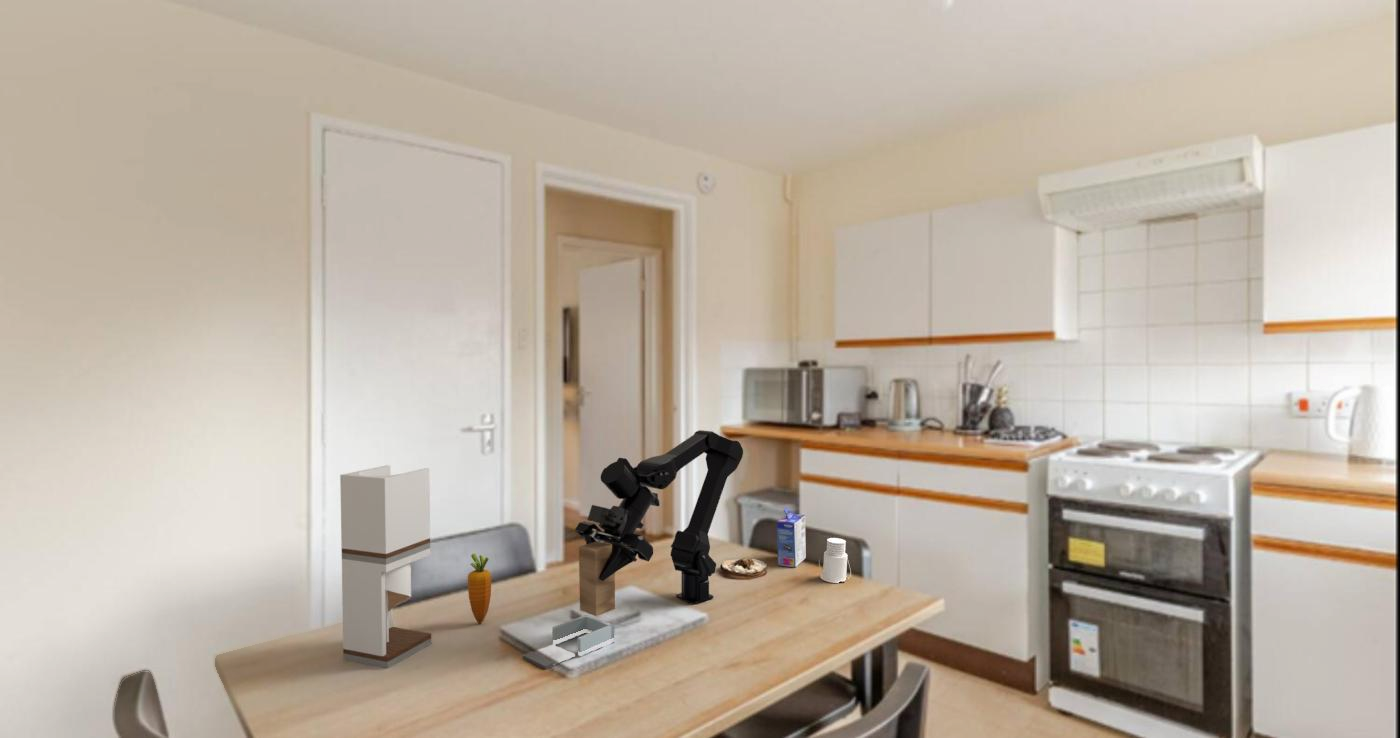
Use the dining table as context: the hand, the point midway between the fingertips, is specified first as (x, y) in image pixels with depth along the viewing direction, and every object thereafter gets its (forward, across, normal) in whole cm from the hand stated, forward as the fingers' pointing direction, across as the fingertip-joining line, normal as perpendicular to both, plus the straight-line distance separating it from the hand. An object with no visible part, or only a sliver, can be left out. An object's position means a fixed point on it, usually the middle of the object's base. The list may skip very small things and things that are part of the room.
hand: (591, 576), depth 141 cm
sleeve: (+13, 0, +5) cm, 14 cm away
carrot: (+16, -25, +2) cm, 30 cm away
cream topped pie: (-28, -3, +48) cm, 56 cm away
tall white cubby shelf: (+30, -26, -12) cm, 41 cm away
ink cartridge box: (-39, +2, +59) cm, 71 cm away
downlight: (-36, +18, +56) cm, 68 cm away
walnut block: (+4, 0, +6) cm, 7 cm away
